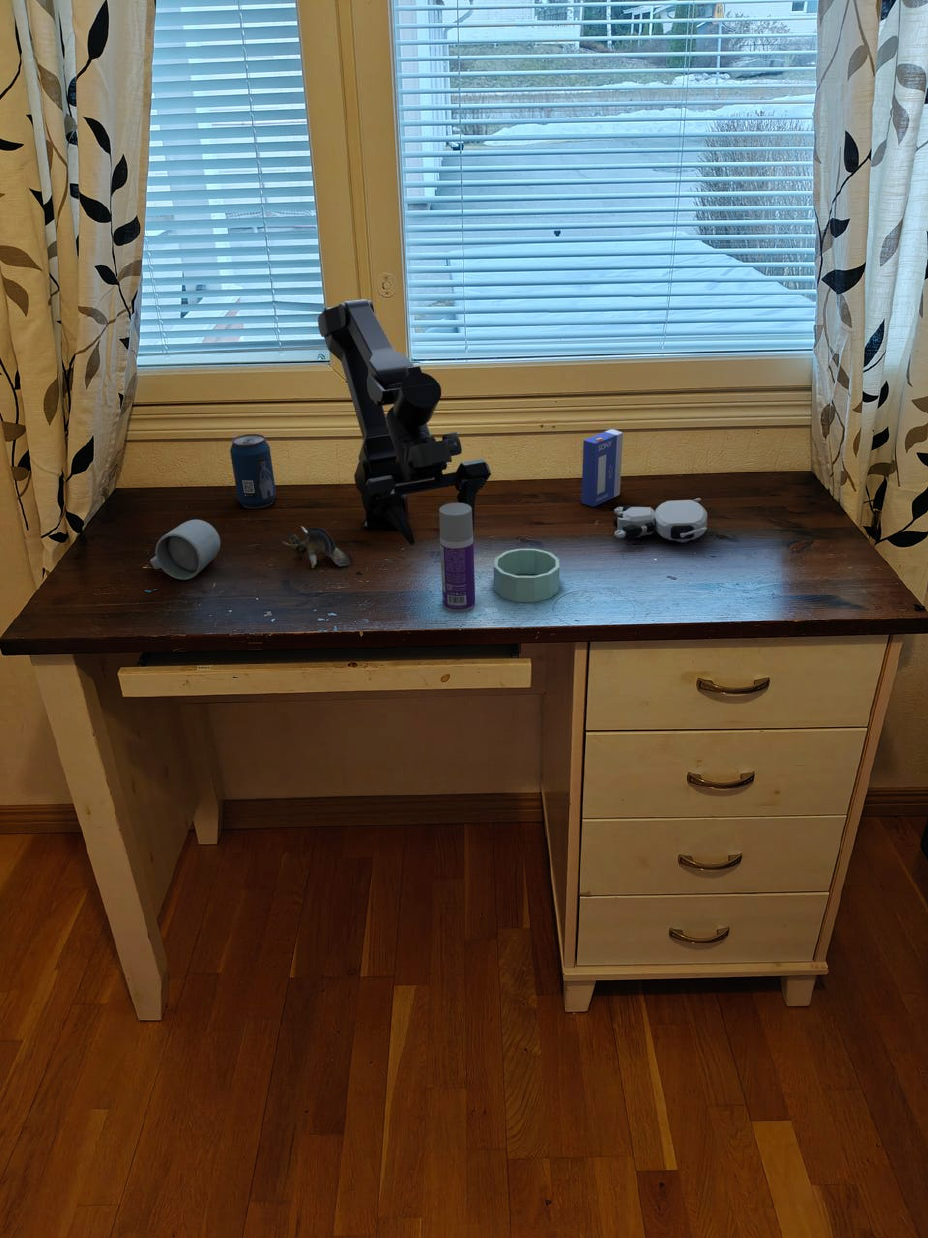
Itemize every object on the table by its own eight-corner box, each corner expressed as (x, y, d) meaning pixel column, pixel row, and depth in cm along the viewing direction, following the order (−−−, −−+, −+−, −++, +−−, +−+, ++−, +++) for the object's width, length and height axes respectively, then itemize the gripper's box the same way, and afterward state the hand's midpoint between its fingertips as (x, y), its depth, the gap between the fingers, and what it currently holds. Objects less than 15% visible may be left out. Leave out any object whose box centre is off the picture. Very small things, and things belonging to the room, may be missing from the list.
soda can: (245, 494, 177) (236, 432, 171) (281, 495, 176) (273, 433, 170) (232, 509, 171) (222, 445, 165) (270, 510, 170) (261, 446, 164)
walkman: (593, 507, 167) (595, 441, 161) (581, 503, 169) (583, 437, 163) (621, 494, 172) (624, 430, 166) (608, 490, 173) (611, 426, 167)
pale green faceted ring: (492, 601, 138) (491, 577, 136) (496, 571, 146) (496, 548, 144) (558, 602, 137) (559, 578, 135) (559, 572, 146) (559, 548, 144)
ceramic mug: (227, 558, 153) (219, 514, 149) (204, 582, 146) (195, 536, 142) (167, 555, 155) (157, 511, 152) (142, 578, 148) (131, 532, 145)
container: (482, 604, 138) (479, 508, 130) (459, 616, 135) (455, 518, 127) (459, 594, 141) (455, 499, 133) (436, 605, 138) (431, 509, 130)
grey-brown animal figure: (281, 567, 147) (334, 562, 144) (280, 522, 148) (332, 516, 145) (304, 573, 154) (355, 568, 152) (303, 529, 155) (353, 524, 152)
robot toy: (613, 553, 152) (709, 550, 150) (612, 528, 150) (710, 524, 148) (613, 522, 163) (703, 519, 160) (612, 498, 161) (704, 494, 158)
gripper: (360, 425, 131) (392, 528, 127) (484, 405, 137) (518, 504, 133) (349, 461, 141) (377, 557, 138) (465, 441, 147) (495, 533, 144)
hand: (442, 537), depth 138 cm, fingers open, 9 cm apart
